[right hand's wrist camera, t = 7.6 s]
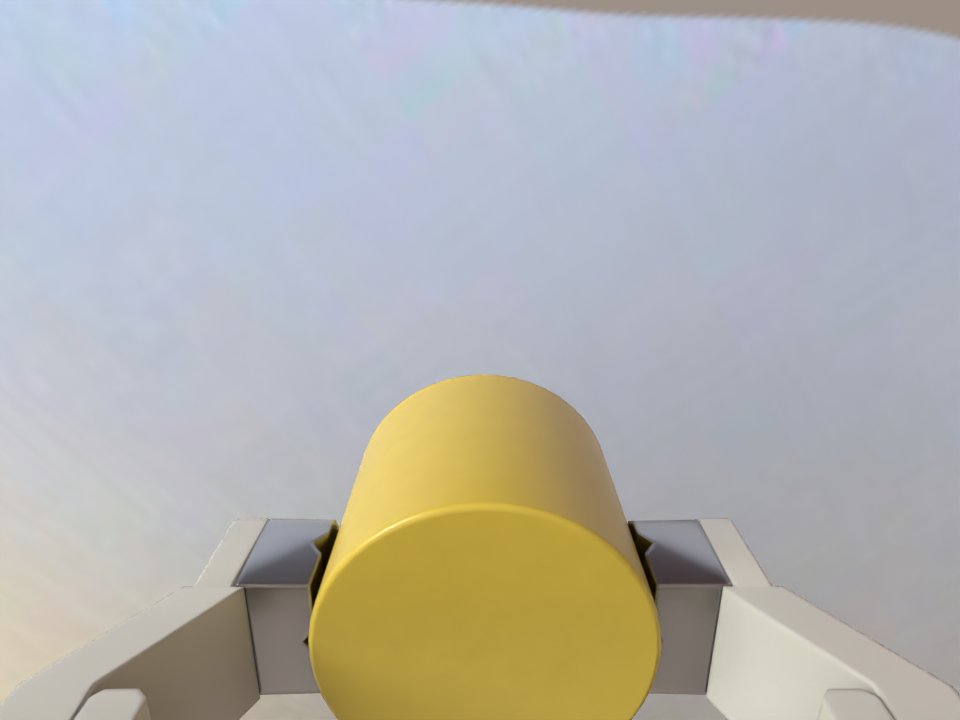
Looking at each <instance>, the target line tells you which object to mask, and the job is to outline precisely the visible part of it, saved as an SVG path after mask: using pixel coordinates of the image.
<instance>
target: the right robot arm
mask: <svg viewBox="0 0 960 720" xmlns="http://www.w3.org/2000/svg"><path fill="white" fill-rule="evenodd" d="M628 527H629V530H630V533H631V536H632V539H633V542H634V544H635V547H636V550H637V553H638V556H639V559H640V562H641V564H642V567H643V570H644V573H645V576H646V579H647V582H648V585H649V587H650V590H651V593H652V596H653V599H654V602H655V605H656V608H657V610H658V615H659V621H660V626H661V652H660V659H659V665H658V670H657V673H656V676H655V679H654V682H653V685H652V687H651V689H650V691H649V693H661V694H696V695H706V698H707V699H708V700H709V701H710V702H711V703H712V704H713V705H714V706H715V707H716V708H717V709H718V710H719V711H720V712H721V713H722V714H723V715H724V716H725V717H726V718H727V719H728V720H960V695H959V694H958V692H957V691H956V690H955V689H954V688H953V687H952V686H951V685H949V684H947V683H946V682H944V681H942V680H941V679H939V678H937V677H935V676H934V675H932V674H930V673H929V672H927V671H925V670H924V669H922V668H920V667H918V666H917V665H915V664H913V663H912V662H910V661H908V660H907V659H905V658H903V657H901V656H900V655H898V654H896V653H895V652H893V651H891V650H890V649H888V648H886V647H885V646H883V645H881V644H879V643H878V642H876V641H874V640H873V639H871V638H869V637H868V636H866V635H864V634H862V633H861V632H859V631H857V630H856V629H854V628H852V627H851V626H849V625H847V624H845V623H844V622H842V621H840V620H839V619H837V618H835V617H834V616H832V615H830V614H829V613H827V612H825V611H823V610H822V609H820V608H818V607H817V606H815V605H813V604H812V603H810V602H808V601H806V600H805V599H803V598H801V597H800V596H798V595H796V594H795V593H793V592H791V591H790V590H788V589H786V588H784V587H773V586H772V584H771V583H770V581H769V580H768V578H767V576H766V575H765V573H764V572H763V570H762V568H761V567H760V565H759V563H758V562H757V560H756V559H755V557H754V555H753V554H752V552H751V551H750V549H749V547H748V546H747V544H746V543H745V541H744V539H743V538H742V536H741V534H740V533H739V531H738V530H737V528H736V526H735V525H734V523H733V522H732V521H731V520H729V519H728V518H716V519H694V520H656V521H628ZM338 531H339V525H338V523H337V522H336V520H309V519H271V520H270V519H268V518H265V519H237V520H235V521H233V522H232V523H231V525H230V527H229V528H228V530H227V532H226V533H225V535H224V537H223V538H222V540H221V542H220V543H219V545H218V547H217V548H216V550H215V552H214V553H213V555H212V557H211V558H210V560H209V562H208V563H207V565H206V567H205V568H204V570H203V572H202V573H201V575H200V577H199V578H198V580H197V582H196V583H195V585H194V587H182V588H180V589H179V590H177V591H175V592H174V593H172V594H170V595H169V596H167V597H165V598H164V599H162V600H160V601H159V602H157V603H155V604H153V605H152V606H150V607H148V608H147V609H145V610H143V611H142V612H140V613H138V614H137V615H135V616H133V617H132V618H130V619H128V620H126V621H125V622H123V623H121V624H120V625H118V626H116V627H115V628H113V629H111V630H110V631H108V632H106V633H105V634H103V635H101V636H99V637H98V638H96V639H94V640H93V641H91V642H89V643H88V644H86V645H84V646H83V647H81V648H79V649H78V650H76V651H74V652H72V653H71V654H69V655H67V656H66V657H64V658H62V659H61V660H59V661H57V662H56V663H54V664H52V665H51V666H49V667H47V668H45V669H44V670H42V671H40V672H39V673H37V674H35V675H34V676H32V677H30V678H29V679H27V680H25V681H24V682H22V683H20V684H18V685H17V686H16V687H15V688H14V689H13V691H12V692H11V693H10V694H9V696H8V697H7V698H6V699H5V701H4V702H3V703H2V704H1V706H0V720H239V719H240V718H241V717H242V716H243V715H244V714H245V713H246V712H247V711H248V710H249V709H250V708H251V707H252V706H253V705H254V704H255V703H256V702H257V701H258V700H259V699H260V695H269V694H304V693H321V692H320V690H319V687H318V685H317V683H316V680H315V677H314V673H313V669H312V665H311V661H310V656H309V642H308V637H309V626H310V619H311V615H312V611H313V608H314V604H315V600H316V597H317V594H318V591H319V588H320V585H321V582H322V579H323V576H324V573H325V570H326V567H327V564H328V561H329V558H330V555H331V552H332V549H333V546H334V543H335V540H336V537H337V534H338Z"/></svg>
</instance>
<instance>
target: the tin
mask: <svg viewBox="0 0 960 720" xmlns="http://www.w3.org/2000/svg"><path fill="white" fill-rule="evenodd" d="M308 642H309V656H310V661H311V665H312V669H313V673H314V677H315V680H316V683H317V685H318V687H319V690H320V692H321V695H322V696H323V698H324V700H325V701H326V703H327V705H328V706H329V708H330V710H331V711H332V712H333V714H334V715H335V716H336V717H337V718H338V720H631V719H632V718H633V717H634V716H635V714H636V713H637V711H638V710H639V709H640V707H641V706H642V704H643V703H644V701H645V699H646V697H647V695H648V693H649V691H650V689H651V687H652V685H653V682H654V679H655V676H656V673H657V670H658V665H659V659H660V652H661V626H660V621H659V615H658V610H657V608H656V605H655V602H654V599H653V596H652V593H651V590H650V587H649V585H648V582H647V579H646V576H645V573H644V570H643V567H642V564H641V562H640V559H639V556H638V553H637V550H636V547H635V544H634V542H633V539H632V536H631V533H630V530H629V527H628V524H627V521H626V519H625V516H624V513H623V510H622V507H621V504H620V501H619V498H618V496H617V493H616V490H615V487H614V484H613V481H612V478H611V475H610V473H609V470H608V467H607V464H606V461H605V458H604V455H603V453H602V450H601V447H600V444H599V442H598V440H597V438H596V436H595V435H594V433H593V431H592V429H591V428H590V427H589V425H588V424H587V423H586V421H585V420H584V418H583V417H582V416H581V415H580V414H579V413H578V412H577V411H576V410H575V409H574V408H573V407H572V406H570V405H569V404H568V403H567V402H565V401H564V400H563V399H561V398H560V397H559V396H557V395H555V394H553V393H552V392H550V391H548V390H547V389H545V388H542V387H540V386H538V385H535V384H533V383H530V382H527V381H524V380H520V379H517V378H512V377H506V376H499V375H470V376H461V377H456V378H452V379H447V380H444V381H441V382H438V383H435V384H432V385H429V386H427V387H425V388H423V389H421V390H419V391H417V392H415V393H414V394H412V395H411V396H409V397H408V398H406V399H405V400H403V401H402V402H401V403H400V404H398V405H397V406H396V407H395V408H394V409H393V410H392V411H391V412H389V414H388V415H387V416H386V417H385V418H384V419H383V421H382V422H381V423H380V424H379V426H378V427H377V429H376V430H375V432H374V434H373V435H372V437H371V439H370V441H369V443H368V446H367V448H366V450H365V453H364V456H363V459H362V462H361V465H360V468H359V471H358V474H357V477H356V480H355V483H354V486H353V489H352V492H351V495H350V498H349V501H348V504H347V507H346V510H345V513H344V516H343V519H342V522H341V525H340V528H339V531H338V534H337V537H336V540H335V543H334V546H333V549H332V552H331V555H330V558H329V561H328V564H327V567H326V570H325V573H324V576H323V579H322V582H321V585H320V588H319V591H318V594H317V597H316V600H315V604H314V608H313V611H312V615H311V619H310V626H309V637H308Z"/></svg>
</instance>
